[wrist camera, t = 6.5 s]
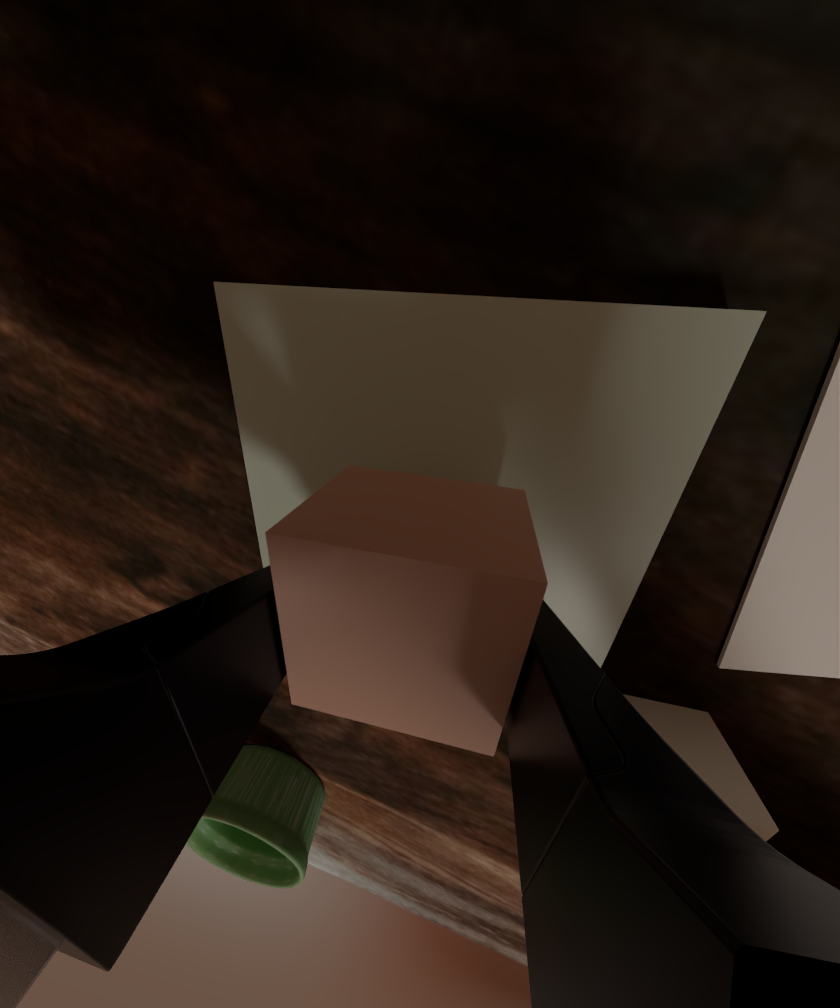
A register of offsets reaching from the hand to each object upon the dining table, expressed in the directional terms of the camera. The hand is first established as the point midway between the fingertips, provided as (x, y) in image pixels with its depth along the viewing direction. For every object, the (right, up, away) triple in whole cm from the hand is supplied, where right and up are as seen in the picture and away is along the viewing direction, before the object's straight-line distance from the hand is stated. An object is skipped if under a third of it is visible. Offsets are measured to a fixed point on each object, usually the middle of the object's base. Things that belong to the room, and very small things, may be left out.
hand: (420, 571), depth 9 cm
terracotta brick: (0, 0, +1) cm, 1 cm away
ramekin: (-11, -18, +15) cm, 26 cm away
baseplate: (+1, +1, +3) cm, 4 cm away
